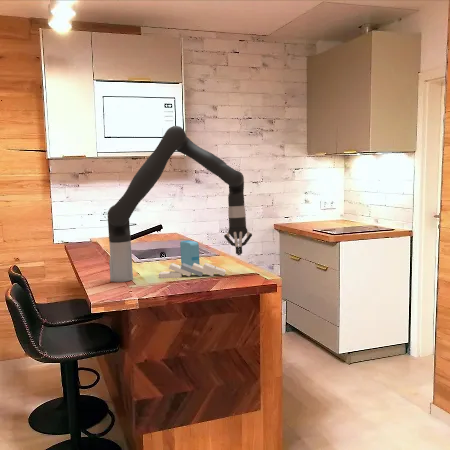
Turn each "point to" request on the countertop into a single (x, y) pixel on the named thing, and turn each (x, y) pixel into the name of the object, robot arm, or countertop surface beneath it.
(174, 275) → the domino
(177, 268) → the domino
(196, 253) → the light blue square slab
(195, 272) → the domino
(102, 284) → the countertop surface
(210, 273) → the domino
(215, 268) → the domino
